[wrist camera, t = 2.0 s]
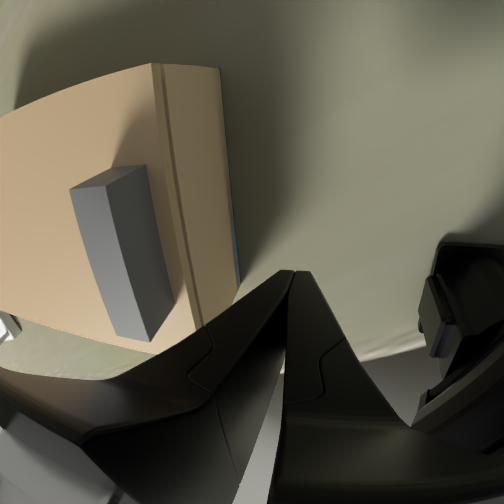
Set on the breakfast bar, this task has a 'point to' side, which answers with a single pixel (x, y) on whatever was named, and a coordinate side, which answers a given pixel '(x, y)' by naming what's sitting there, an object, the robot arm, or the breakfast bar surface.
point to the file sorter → (8, 327)
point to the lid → (95, 215)
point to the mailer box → (202, 183)
